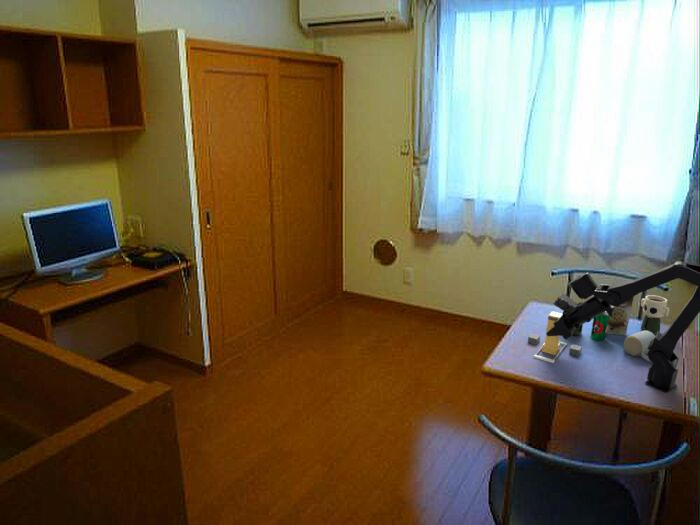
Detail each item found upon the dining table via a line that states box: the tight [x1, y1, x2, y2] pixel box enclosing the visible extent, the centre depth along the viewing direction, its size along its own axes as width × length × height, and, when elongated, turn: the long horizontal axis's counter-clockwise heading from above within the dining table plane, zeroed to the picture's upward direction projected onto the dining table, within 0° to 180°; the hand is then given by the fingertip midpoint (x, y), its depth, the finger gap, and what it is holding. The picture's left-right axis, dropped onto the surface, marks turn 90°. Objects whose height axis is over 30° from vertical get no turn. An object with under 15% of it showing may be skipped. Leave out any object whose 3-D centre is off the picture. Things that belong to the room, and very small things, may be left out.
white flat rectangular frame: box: [527, 333, 583, 364], centre depth 180 cm, size 20×16×3 cm
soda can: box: [590, 312, 610, 342], centre depth 188 cm, size 5×5×12 cm
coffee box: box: [607, 296, 635, 336], centre depth 196 cm, size 9×6×16 cm
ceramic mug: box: [623, 329, 656, 363], centre depth 179 cm, size 11×8×8 cm
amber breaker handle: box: [541, 310, 563, 356], centre depth 178 cm, size 4×4×13 cm
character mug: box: [640, 294, 670, 334], centre depth 197 cm, size 11×7×13 cm, turn 25°
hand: (548, 332), depth 179 cm, fingers closed on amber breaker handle, 4 cm apart
